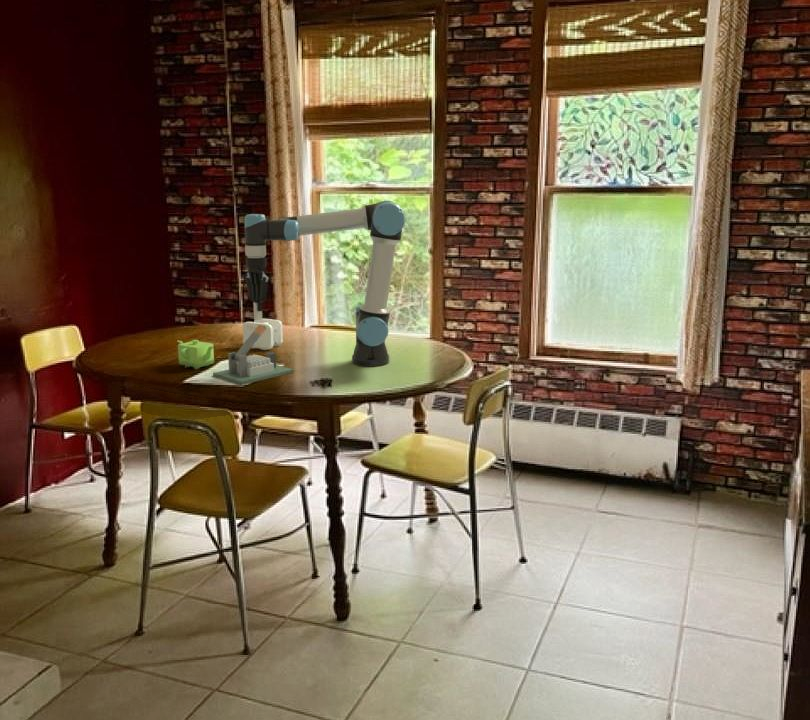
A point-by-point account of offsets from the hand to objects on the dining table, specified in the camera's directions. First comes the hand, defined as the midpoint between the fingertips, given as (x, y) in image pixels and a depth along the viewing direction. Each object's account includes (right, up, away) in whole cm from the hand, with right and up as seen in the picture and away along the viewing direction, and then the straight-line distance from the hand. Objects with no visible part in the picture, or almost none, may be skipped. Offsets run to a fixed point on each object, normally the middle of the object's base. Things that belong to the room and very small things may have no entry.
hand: (258, 319), depth 296 cm
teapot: (-27, -18, +14) cm, 35 cm away
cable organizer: (-6, -10, +47) cm, 49 cm away
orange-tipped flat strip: (-3, -10, -1) cm, 10 cm away
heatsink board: (-2, -21, +3) cm, 21 cm away
